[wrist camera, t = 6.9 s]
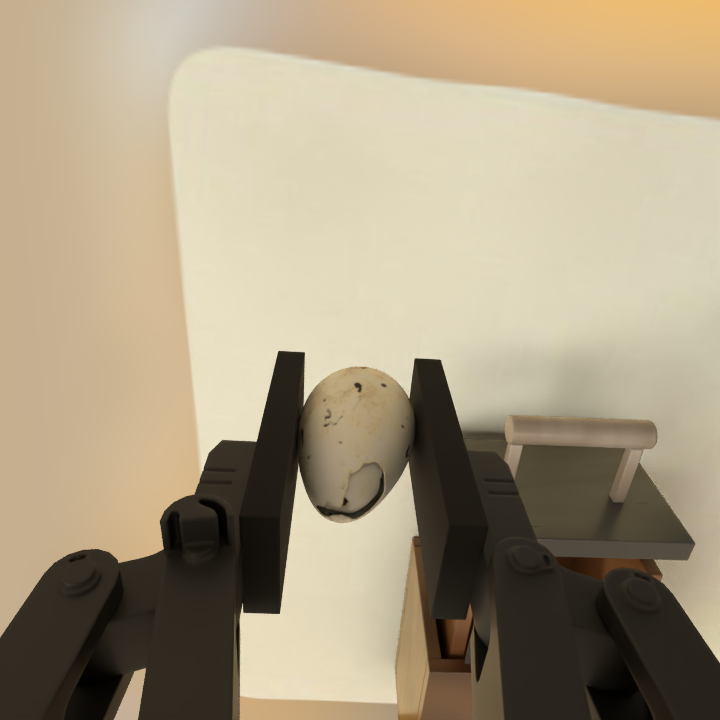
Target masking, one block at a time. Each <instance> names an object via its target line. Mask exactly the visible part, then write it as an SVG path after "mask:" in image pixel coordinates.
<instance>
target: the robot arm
mask: <svg viewBox="0 0 720 720" xmlns="http://www.w3.org/2000/svg"><path fill="white" fill-rule="evenodd" d="M304 363H305V352H287V351H278V355H277V359H276V363H275V368H274V372H273V376H272V380H271V384H270V389H269V393H268V397H267V401H266V405H265V410H264V414H263V418H262V422H261V426H260V430H259V435H258V439H257V442H251V441H229V440H222V441H221V442H220V443H219V444H218V445H217V446H216V447H215V448H214V449H213V450H212V451H211V452H210V453H209V455H208V458H207V460H206V463H205V466H204V471H203V472H202V475H201V478H200V482H199V484H198V486H197V489H196V492H195V495H191V496H186V497H184V498H182V499H180V500H178V501H176V502H174V503H173V504H171V505H170V506H169V507H168V508H167V509H166V510H165V511H164V514H163V515H162V518H161V520H160V525H161V532H162V539H163V546H164V550H162V551H160V552H158V553H156V554H154V555H150V556H148V557H144V558H140V559H136V560H131V561H127V562H122V563H118V560H117V559H116V558H115V557H114V556H113V555H112V554H110V553H109V552H106V551H102V550H99V549H91V550H81V551H78V552H75V553H72V554H69V555H67V556H65V557H63V558H62V559H60V560H59V561H57V562H55V563H54V564H53V565H52V566H51V567H50V568H49V569H48V570H47V571H46V572H45V573H44V575H43V576H42V578H41V579H40V580H39V582H38V583H37V585H36V586H35V588H34V589H33V591H32V592H31V594H30V595H29V597H28V598H27V599H26V601H25V602H24V604H23V605H22V607H21V608H20V610H19V611H18V613H17V614H16V615H15V617H14V618H13V620H12V621H11V623H10V624H9V626H8V627H7V629H6V630H5V632H4V633H3V635H2V636H1V638H0V720H114V718H115V715H116V713H117V711H118V708H119V706H120V704H121V701H122V699H123V697H124V694H125V692H126V690H127V688H128V685H129V683H130V681H131V678H132V676H133V674H134V671H137V670H140V669H143V668H146V673H145V679H144V686H143V692H142V698H141V705H140V711H139V717H138V720H239V718H240V716H239V714H240V713H239V712H240V708H239V707H240V703H239V702H240V621H239V619H240V614H241V609H242V603H243V613H266V614H280V608H281V600H282V592H283V584H284V576H285V568H286V560H287V552H288V544H289V536H290V528H291V520H292V512H293V504H294V496H295V488H296V480H297V472H298V464H299V461H298V452H297V436H298V426H299V420H300V416H301V413H302V410H303V403H304ZM409 400H410V402H411V404H412V407H413V411H414V416H415V424H416V431H415V440H414V445H413V449H412V452H411V455H410V458H409V467H410V475H411V482H412V489H413V496H414V503H415V510H416V517H417V524H418V532H419V539H420V546H421V553H422V560H423V567H424V574H425V581H426V589H427V596H428V603H429V610H430V617H431V619H453V620H466V618H467V614H468V609H469V605H471V610H472V615H473V619H474V626H473V630H472V633H471V637H470V641H469V645H468V649H467V653H466V658H465V662H464V663H465V664H470V661H471V685H472V720H720V663H719V661H718V660H717V658H716V657H715V656H714V654H713V653H712V651H711V650H710V648H709V647H708V645H707V644H706V642H705V641H704V639H703V638H702V636H701V635H700V633H699V632H698V631H697V629H696V628H695V626H694V625H693V623H692V622H691V620H690V619H689V617H688V616H687V614H686V613H685V611H684V610H683V608H682V607H681V605H680V604H679V603H678V601H677V600H676V598H675V597H674V595H673V594H672V593H671V592H670V591H669V589H668V588H667V587H666V586H665V585H664V584H663V583H662V582H660V581H659V580H657V579H656V578H654V577H653V576H652V575H650V574H648V573H645V572H643V571H640V570H638V569H634V568H626V567H621V568H616V569H612V570H611V571H610V572H608V573H607V574H606V575H605V577H604V579H603V580H600V579H597V578H594V577H591V576H587V575H584V574H581V573H577V572H574V571H572V570H569V569H567V568H565V567H563V566H561V565H560V564H558V562H557V559H556V557H555V556H554V555H553V554H552V553H551V552H550V551H549V550H548V549H547V547H545V546H543V545H542V544H540V543H538V541H537V539H536V536H535V533H534V531H533V528H532V526H531V523H530V520H529V518H528V515H527V512H526V510H525V507H524V504H523V502H522V499H521V497H520V496H519V491H518V489H517V486H516V483H514V478H513V476H512V473H511V470H510V468H509V465H508V464H507V463H506V462H505V461H504V460H503V459H502V458H501V457H500V456H499V455H498V454H497V453H496V452H495V451H474V450H467V449H466V446H465V442H464V439H463V435H462V432H461V429H460V425H459V422H458V418H457V415H456V411H455V408H454V404H453V401H452V397H451V394H450V391H449V387H448V384H447V380H446V377H445V373H444V370H443V366H442V363H441V360H435V359H417V358H415V361H414V369H413V376H412V384H411V391H410V399H409Z"/></svg>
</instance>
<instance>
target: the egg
mask: <svg viewBox="0 0 720 720" xmlns="http://www.w3.org/2000/svg"><path fill="white" fill-rule="evenodd" d="M415 431H416V424H415V416H414V411H413V407H412V404H411V402H410V400H409V398H408V396H407V394H406V392H405V391H404V390H403V388H402V387H401V386H400V385H399V384H398V383H397V382H396V381H395V380H394V379H393V378H392V377H390V376H389V375H387V374H386V373H384V372H382V371H379V370H377V369H373V368H369V367H350V368H345V369H342V370H339V371H337V372H335V373H333V374H331V375H329V376H328V377H326V378H325V379H324V380H322V381H321V382H320V383H319V384H318V385H317V386H316V387H315V388H314V390H313V391H312V392H311V394H310V395H309V397H308V399H307V401H306V403H305V405H304V407H303V410H302V413H301V416H300V420H299V426H298V436H297V452H298V461H299V467H300V472H301V476H302V480H303V483H304V486H305V489H306V492H307V494H308V497H309V499H310V501H311V502H312V504H313V506H314V507H315V509H316V510H317V511H318V512H319V513H320V514H321V515H322V516H323V517H325V518H326V519H328V520H331V521H333V522H338V523H347V522H352V521H355V520H357V519H359V518H361V517H363V516H365V515H366V514H368V513H369V512H370V511H372V510H373V509H374V508H375V507H376V506H377V505H378V504H379V503H380V502H381V501H382V500H383V499H384V498H385V497H386V496H387V494H388V493H389V492H390V491H391V489H392V488H393V487H394V485H395V484H396V483H397V481H398V480H399V478H400V476H401V475H402V473H403V471H404V469H405V467H406V465H407V463H408V461H409V458H410V455H411V452H412V449H413V445H414V440H415Z"/></svg>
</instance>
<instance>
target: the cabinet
mask: <svg viewBox="0 0 720 720" xmlns="http://www.w3.org/2000/svg"><path fill="white" fill-rule="evenodd" d="M441 658H442V657H441V651H440V644H439V637H438V630H437V624H436V619H431V617H430V610H429V603H428V596H427V589H426V581H425V574H424V567H423V560H422V553H421V546H420V539H419V538H417V537H413V539H412V546H411V553H410V560H409V568H408V575H407V582H406V589H405V597H404V604H403V611H402V619H401V626H400V633H399V640H398V648H397V655H396V662H395V674H396V689H397V703H398V717H399V720H472V685H471V661H470V664H465V663H464V662H465V660H462V659H441Z"/></svg>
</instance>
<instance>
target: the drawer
mask: <svg viewBox="0 0 720 720" xmlns="http://www.w3.org/2000/svg"><path fill="white" fill-rule="evenodd" d="M505 437H506V440H487V439H464V442H465V446H466V449H467V450H474V451H495V452H496V453H497V454H498V455H499V456H500V457H501V458H502V459H503V460H504V461H505V462H506V463H507V464H508V465H509V468H510V470H511V473H512V476H513V478H514V483H516V486H517V489H518V491H519V496H520V497H521V499H522V502H523V504H524V507H525V510H526V512H527V515H528V518H529V520H530V523H531V526H532V528H533V531H534V533H535V536H536V539H537V541H538V543H540V544H542V545H543V546H545V547H547V549H548V550H549V551H550V552H551V553H552V554H553V555H554V556H555V557H556V559H557V562H558V564H560V565H561V566H563V567H565V568H567V569H569V570H572V571H574V572H577V573H581V574H584V575H587V576H591V577H594V578H597V579H600V580H603V579H604V577H605V575H606V574H607V573H608V572H610V571H611V570H612V569H616V568H621V567H626V568H634V569H638V570H640V571H643V572H645V573H648V574H650V575H652V576H653V577H654V578H656V579H657V580H659V581H661V579H662V577H663V575H662V573H661V571H660V570H659V568H658V566H657V565H656V563H655V561H654V560H653V559H657V560H688V558H689V556H690V554H691V552H692V550H693V548H694V546H695V542H694V541H693V539H692V538H691V536H690V535H689V533H688V532H687V531H686V529H685V528H684V526H683V525H682V523H681V522H680V520H679V519H678V518H677V516H676V515H675V513H674V512H673V510H672V509H671V508H670V506H669V505H668V503H667V502H666V500H665V499H664V498H663V496H662V495H661V493H660V492H659V490H658V489H657V487H656V486H655V485H654V483H653V482H652V480H651V479H650V477H649V476H648V475H647V473H646V472H645V470H644V469H643V467H642V466H641V465H640V463H639V461H640V458H641V455H642V453H643V449H651V448H653V447H654V446H655V444H656V441H657V430H656V427H655V425H654V423H653V422H651V421H649V420H627V419H600V418H574V417H547V416H521V415H509V416H508V417H507V419H506V422H505ZM436 624H437V630H438V637H439V644H440V651H441V657H442V658H441V659H462V660H465V658H466V653H467V649H468V645H469V641H470V637H471V633H472V630H473V626H474V619H473V615H472V610H471V605H469V609H468V614H467V618H466V620H453V619H436Z"/></svg>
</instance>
